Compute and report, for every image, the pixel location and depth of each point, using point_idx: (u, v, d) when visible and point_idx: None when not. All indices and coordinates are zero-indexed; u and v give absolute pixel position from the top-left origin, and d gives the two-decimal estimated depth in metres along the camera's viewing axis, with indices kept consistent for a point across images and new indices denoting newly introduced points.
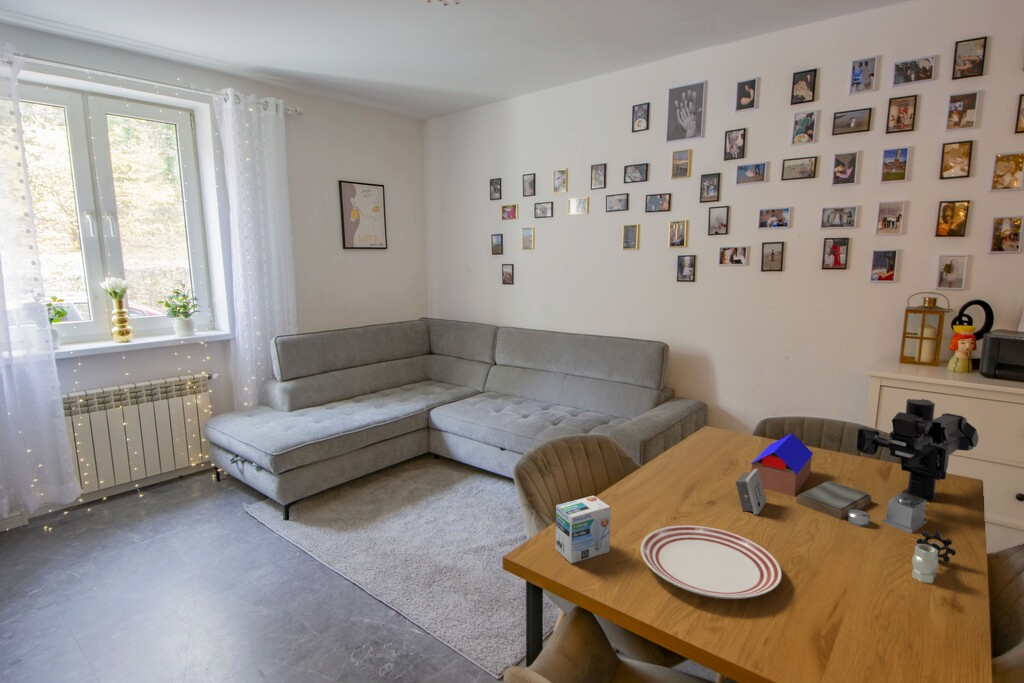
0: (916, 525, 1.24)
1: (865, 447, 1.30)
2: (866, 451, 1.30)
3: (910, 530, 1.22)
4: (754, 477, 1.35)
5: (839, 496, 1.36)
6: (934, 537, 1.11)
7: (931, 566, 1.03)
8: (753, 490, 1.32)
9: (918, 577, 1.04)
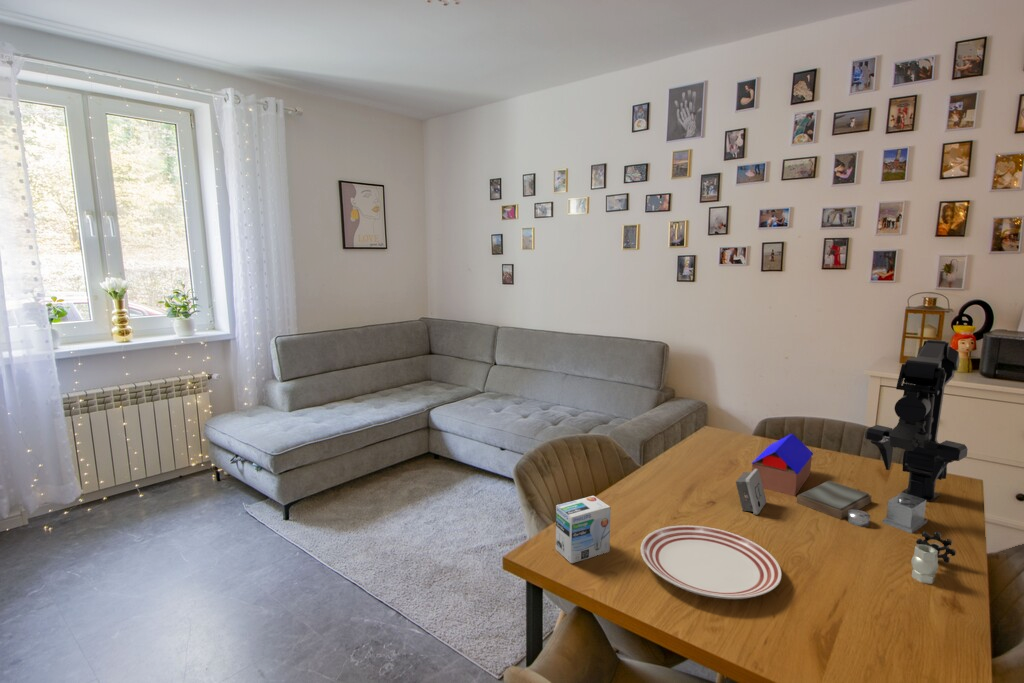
0: (916, 525, 1.24)
1: (886, 466, 1.29)
2: (889, 466, 1.29)
3: (910, 530, 1.22)
4: (754, 477, 1.35)
5: (839, 496, 1.36)
6: (934, 537, 1.11)
7: (931, 566, 1.03)
8: (753, 490, 1.32)
9: (918, 578, 1.04)
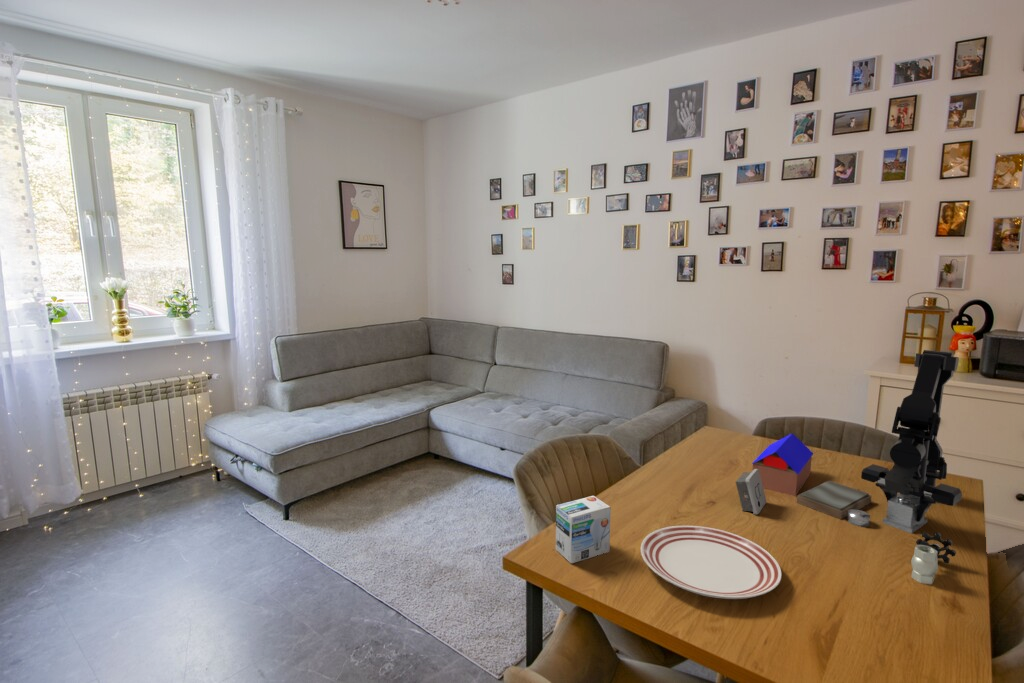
0: (916, 525, 1.24)
1: None
2: None
3: (910, 530, 1.22)
4: (754, 477, 1.35)
5: (839, 496, 1.36)
6: (934, 538, 1.10)
7: (930, 567, 1.02)
8: (753, 490, 1.32)
9: (917, 578, 1.04)
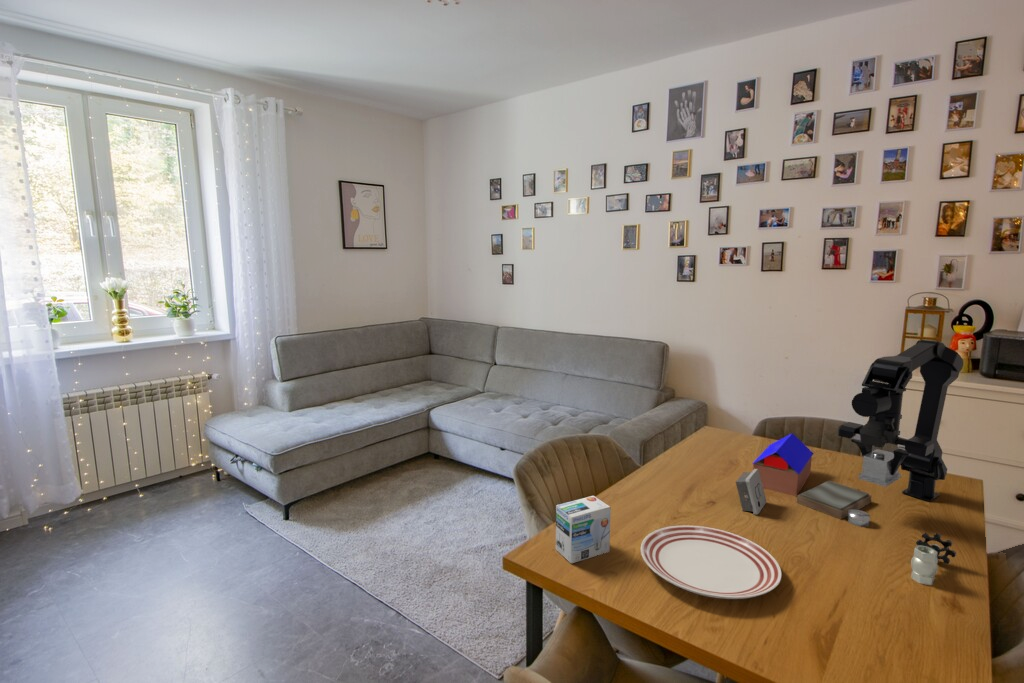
0: (890, 479, 1.27)
1: None
2: None
3: (884, 483, 1.25)
4: (754, 477, 1.35)
5: (839, 496, 1.36)
6: (934, 538, 1.10)
7: (930, 568, 1.02)
8: (753, 490, 1.32)
9: (917, 579, 1.04)
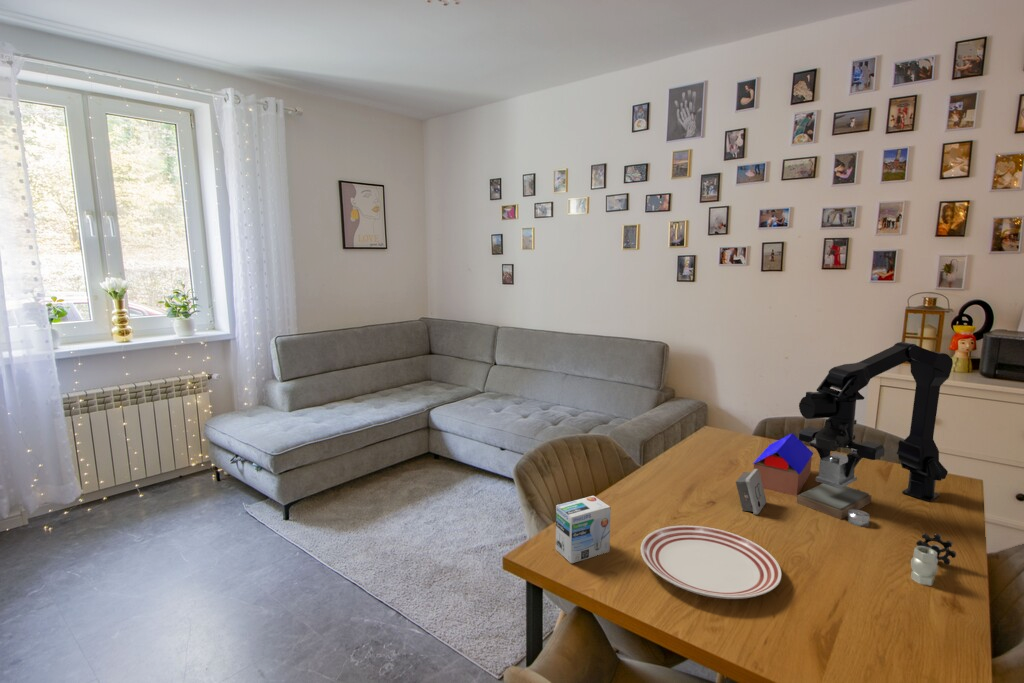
0: (845, 481, 1.34)
1: None
2: None
3: (838, 485, 1.32)
4: (754, 477, 1.35)
5: (839, 496, 1.36)
6: (934, 539, 1.10)
7: (930, 568, 1.02)
8: (753, 490, 1.32)
9: (917, 579, 1.04)
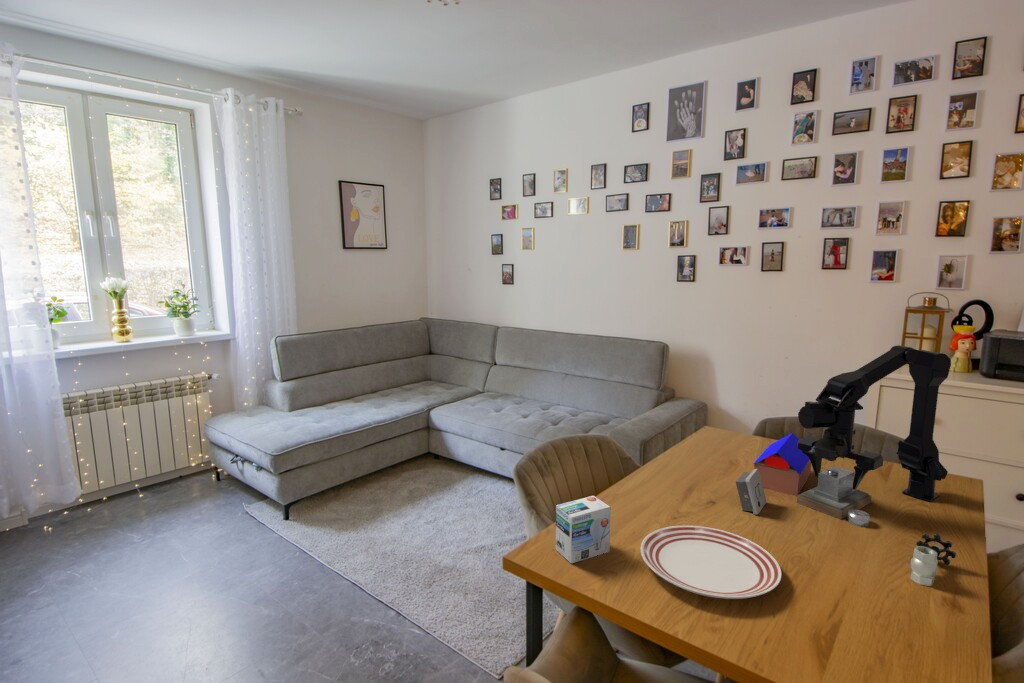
0: (843, 495, 1.34)
1: (815, 473, 1.41)
2: (818, 474, 1.41)
3: (837, 499, 1.33)
4: (754, 477, 1.35)
5: None
6: (934, 539, 1.10)
7: (930, 568, 1.02)
8: (753, 490, 1.32)
9: (917, 579, 1.04)
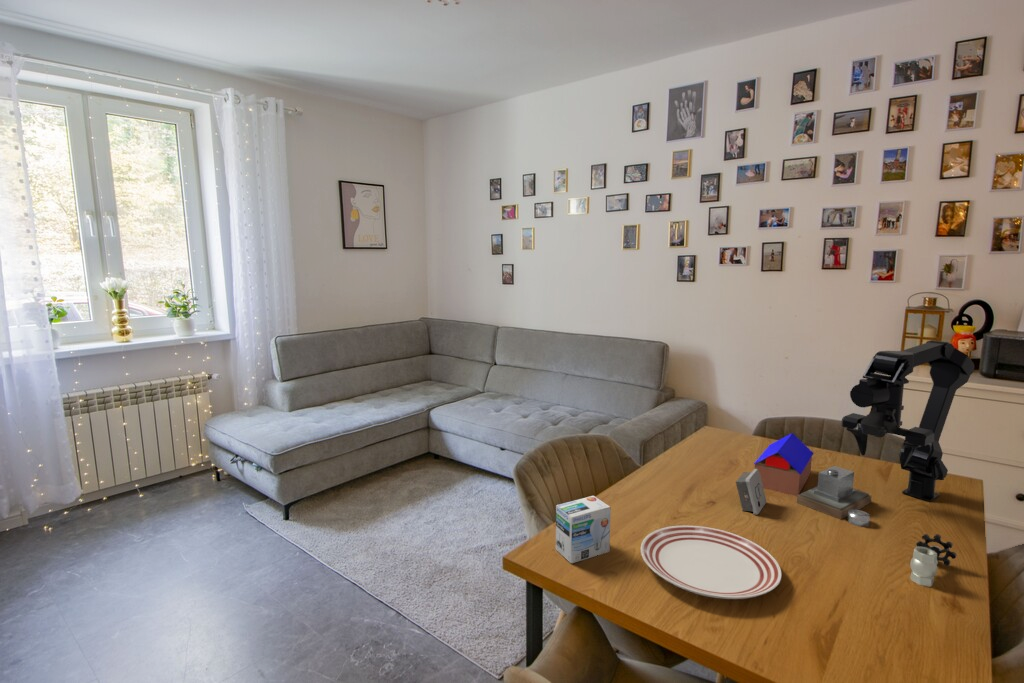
0: (843, 495, 1.34)
1: (861, 451, 1.37)
2: (864, 452, 1.37)
3: (837, 499, 1.33)
4: (754, 477, 1.35)
5: None
6: (934, 540, 1.10)
7: (930, 569, 1.02)
8: (753, 490, 1.32)
9: (916, 580, 1.04)
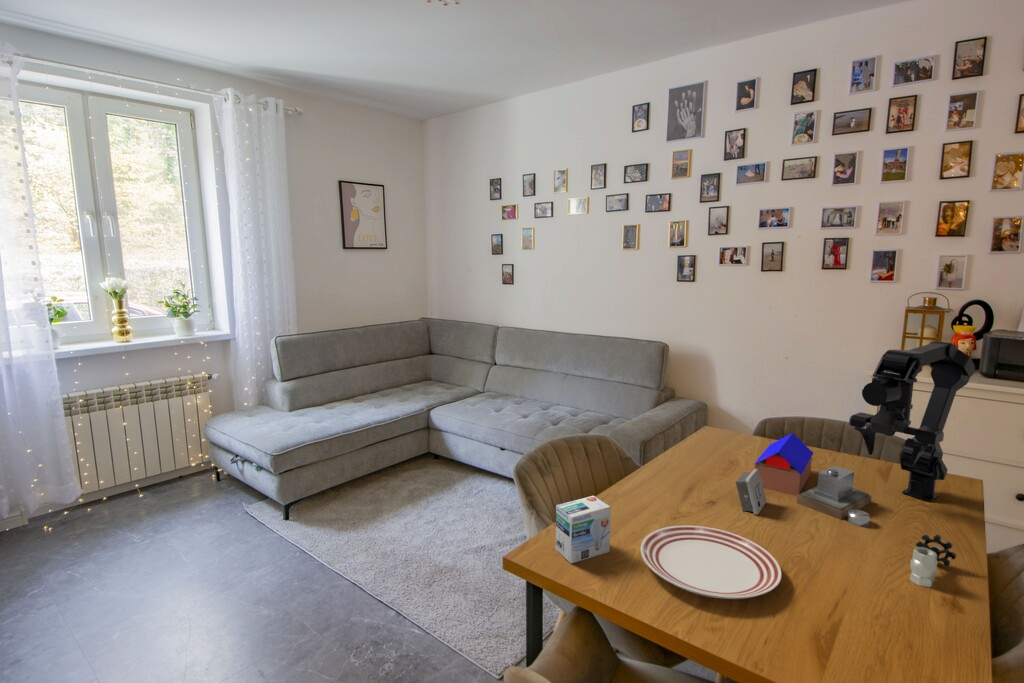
0: (843, 495, 1.34)
1: (869, 451, 1.36)
2: (872, 451, 1.36)
3: (837, 499, 1.33)
4: (754, 477, 1.35)
5: None
6: (934, 540, 1.09)
7: (929, 570, 1.02)
8: (753, 490, 1.32)
9: (916, 581, 1.03)
